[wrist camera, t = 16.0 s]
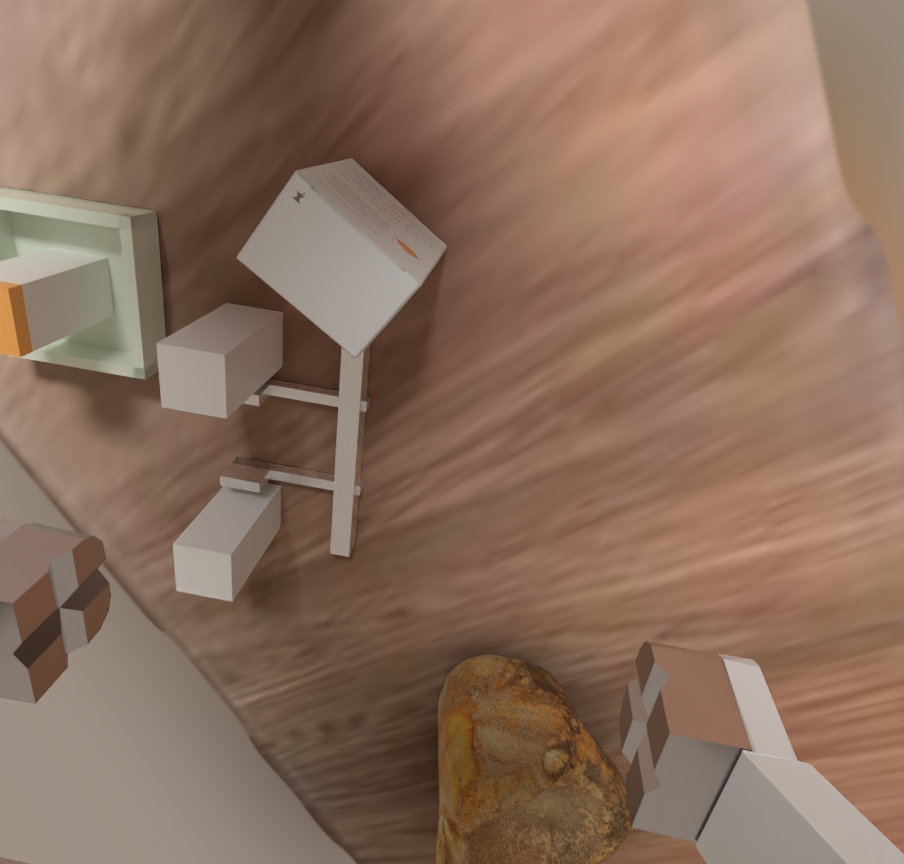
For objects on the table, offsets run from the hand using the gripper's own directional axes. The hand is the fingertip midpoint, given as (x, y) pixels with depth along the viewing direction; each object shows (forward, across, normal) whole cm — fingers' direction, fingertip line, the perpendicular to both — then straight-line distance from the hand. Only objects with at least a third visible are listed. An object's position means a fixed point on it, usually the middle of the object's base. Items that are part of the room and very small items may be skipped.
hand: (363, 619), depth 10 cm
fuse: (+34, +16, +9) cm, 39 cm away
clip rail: (+34, +12, +16) cm, 40 cm away
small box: (+34, +8, +1) cm, 35 cm away
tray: (+34, +28, +7) cm, 45 cm away
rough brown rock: (+34, -10, +43) cm, 56 cm away
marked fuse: (+34, +28, +7) cm, 44 cm away
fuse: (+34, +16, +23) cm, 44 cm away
